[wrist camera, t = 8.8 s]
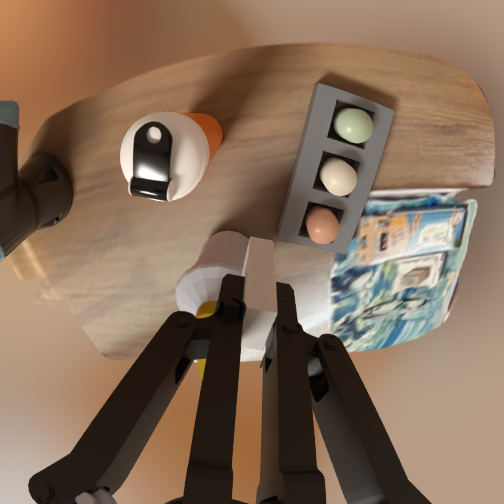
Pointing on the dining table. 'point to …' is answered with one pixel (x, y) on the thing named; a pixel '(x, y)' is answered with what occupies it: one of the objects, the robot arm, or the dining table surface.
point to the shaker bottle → (168, 153)
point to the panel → (309, 161)
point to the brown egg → (321, 224)
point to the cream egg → (337, 176)
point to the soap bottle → (211, 275)
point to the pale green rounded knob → (353, 125)
